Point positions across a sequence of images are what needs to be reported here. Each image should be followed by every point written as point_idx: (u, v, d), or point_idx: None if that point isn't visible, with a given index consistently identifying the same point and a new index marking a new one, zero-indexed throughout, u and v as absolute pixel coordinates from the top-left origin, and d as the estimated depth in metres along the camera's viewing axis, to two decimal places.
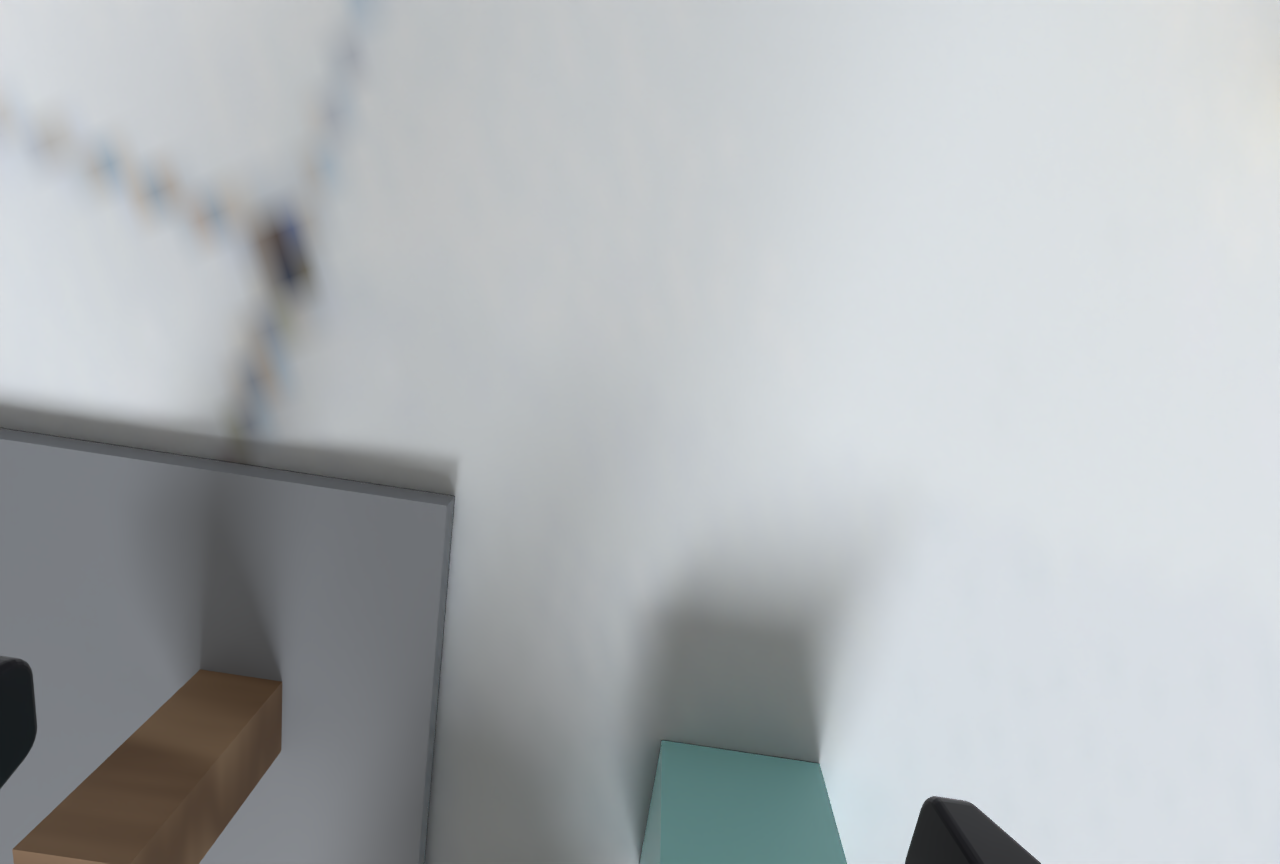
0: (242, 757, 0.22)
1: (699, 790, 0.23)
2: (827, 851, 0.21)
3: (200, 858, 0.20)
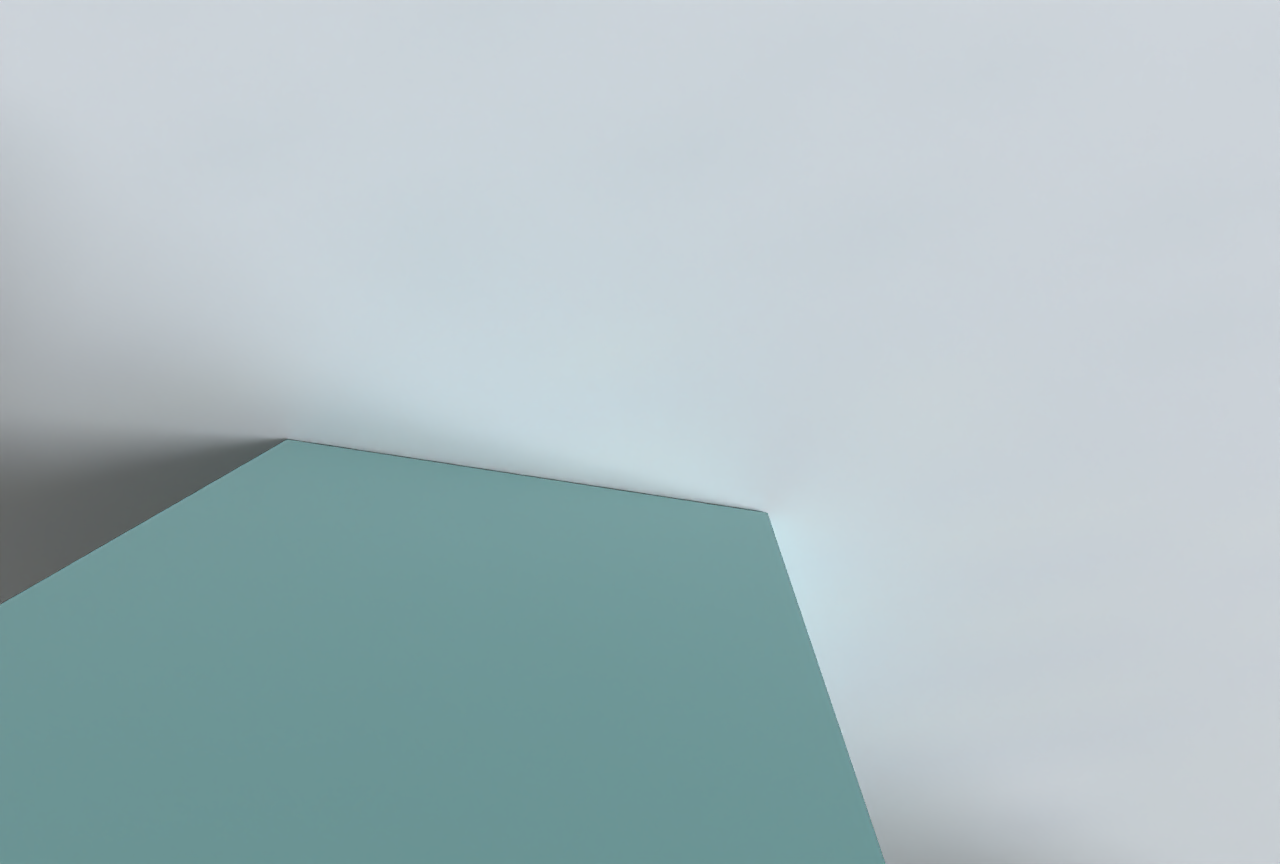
0: None
1: None
2: None
3: None
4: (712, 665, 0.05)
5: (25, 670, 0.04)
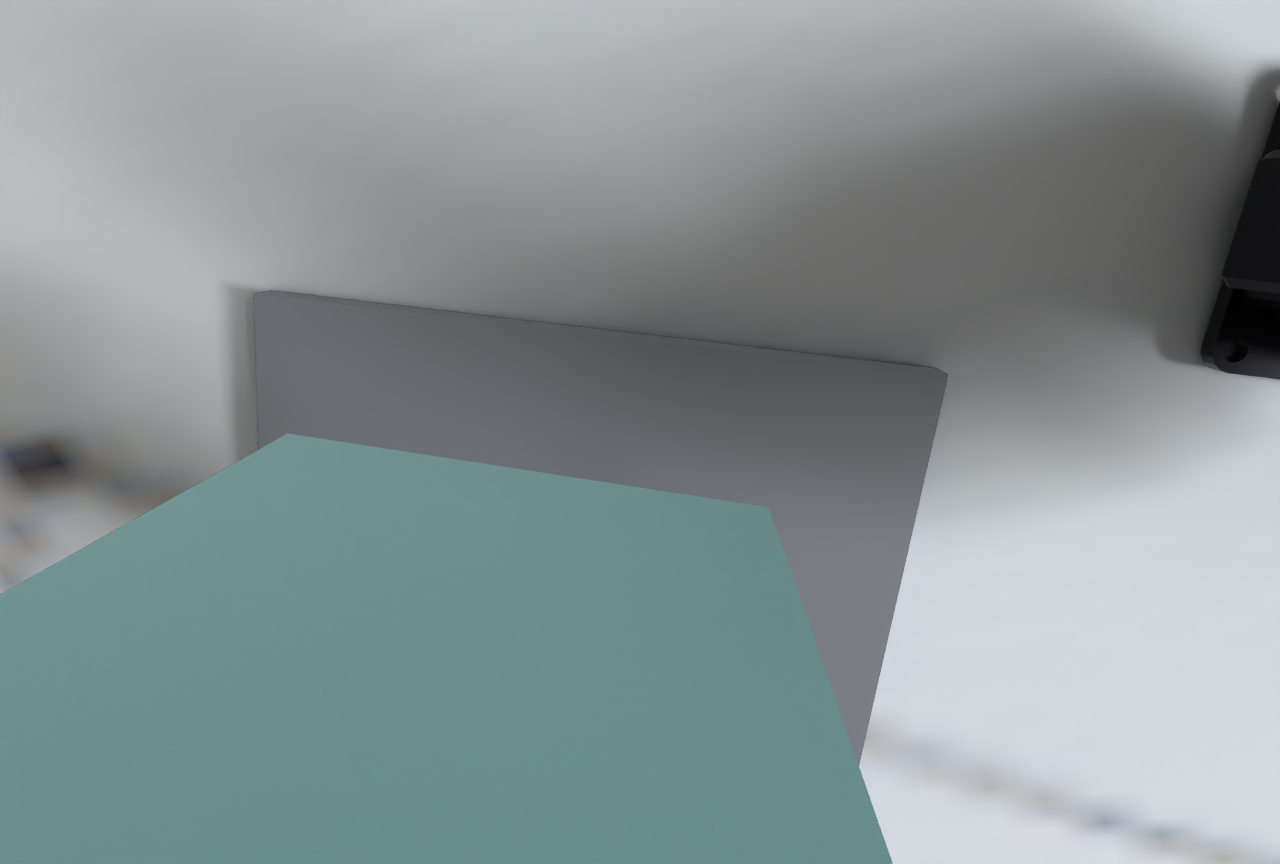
0: None
1: None
2: None
3: None
4: (714, 657, 0.05)
5: (23, 660, 0.04)
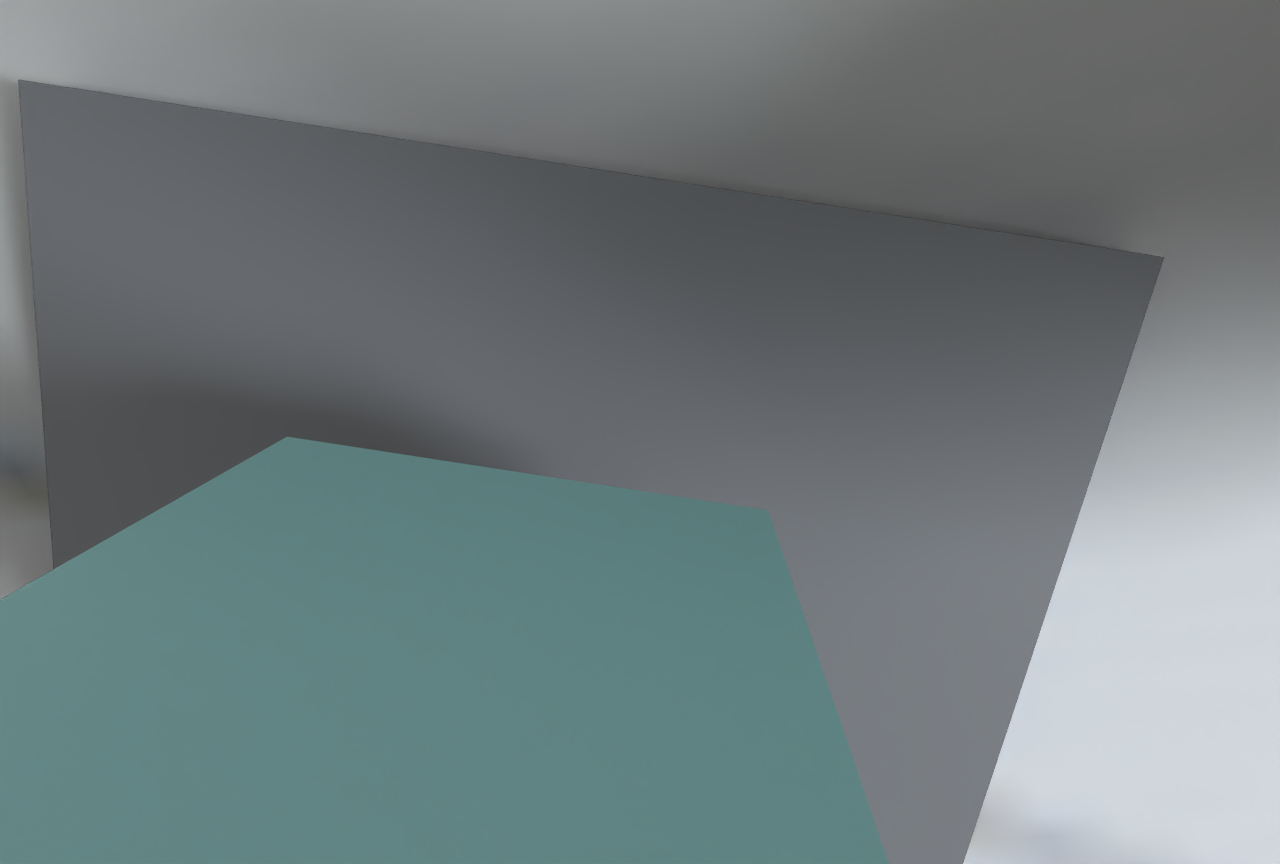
0: None
1: None
2: None
3: None
4: (713, 661, 0.05)
5: (25, 665, 0.04)
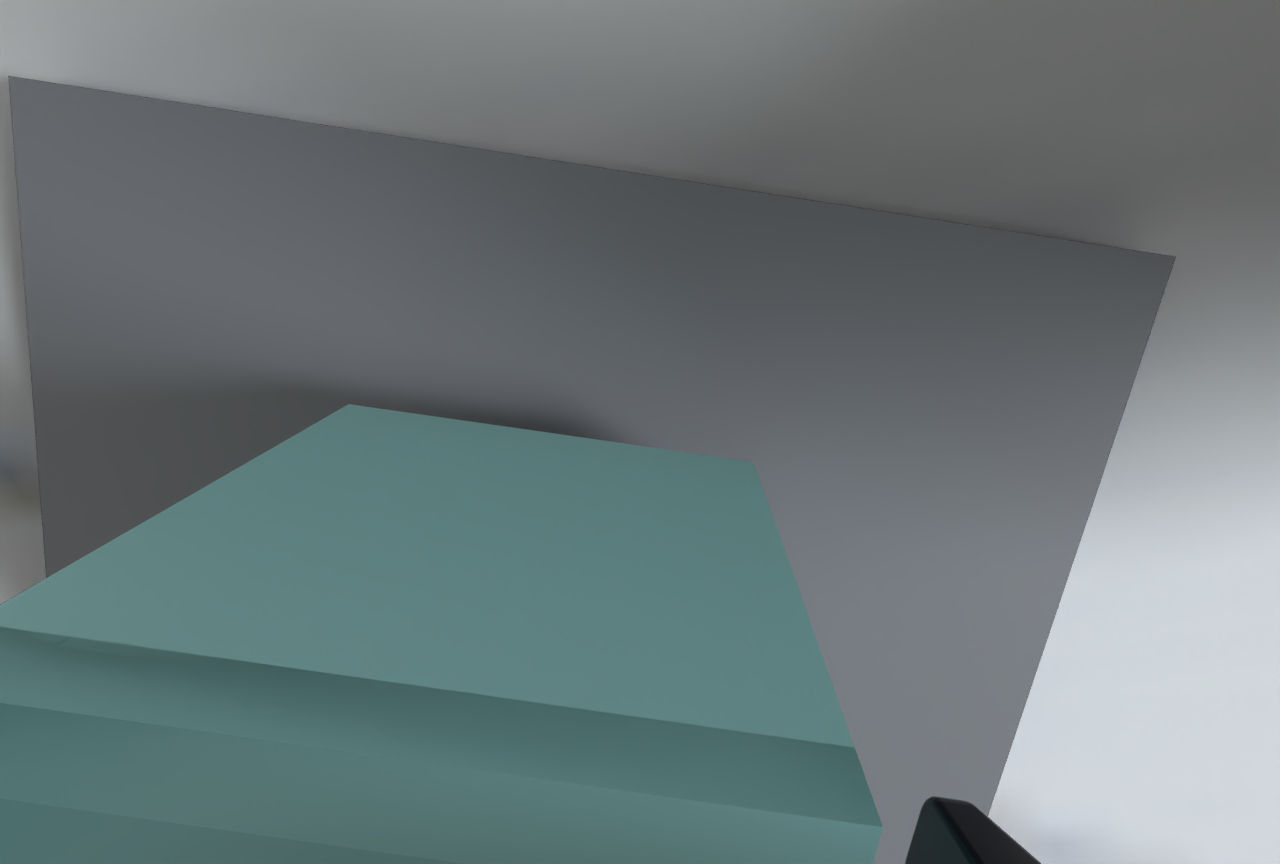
0: None
1: None
2: None
3: None
4: (705, 557, 0.07)
5: (202, 546, 0.06)
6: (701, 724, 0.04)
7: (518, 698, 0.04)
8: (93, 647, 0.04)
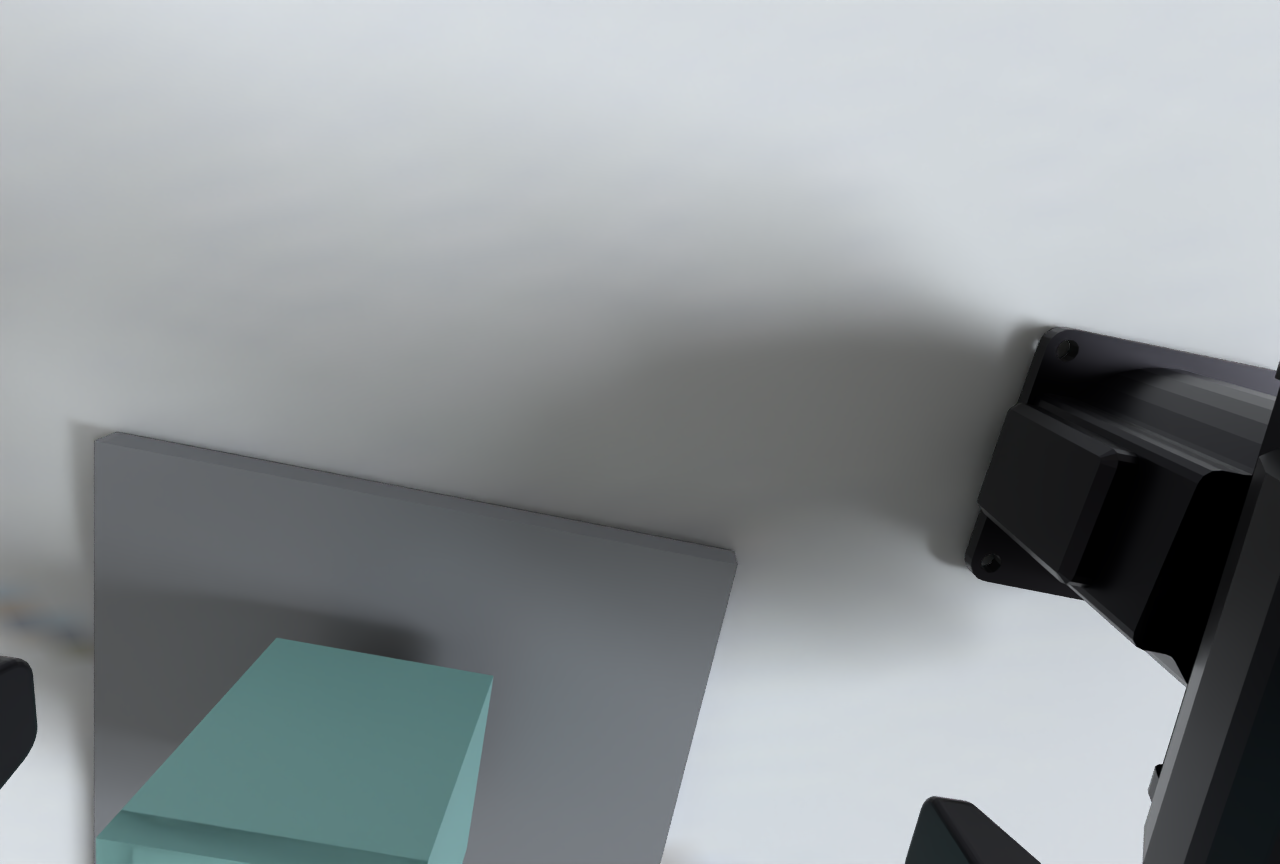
0: None
1: None
2: None
3: None
4: (423, 759, 0.15)
5: (200, 763, 0.14)
6: (375, 851, 0.13)
7: (312, 841, 0.13)
8: (164, 820, 0.13)
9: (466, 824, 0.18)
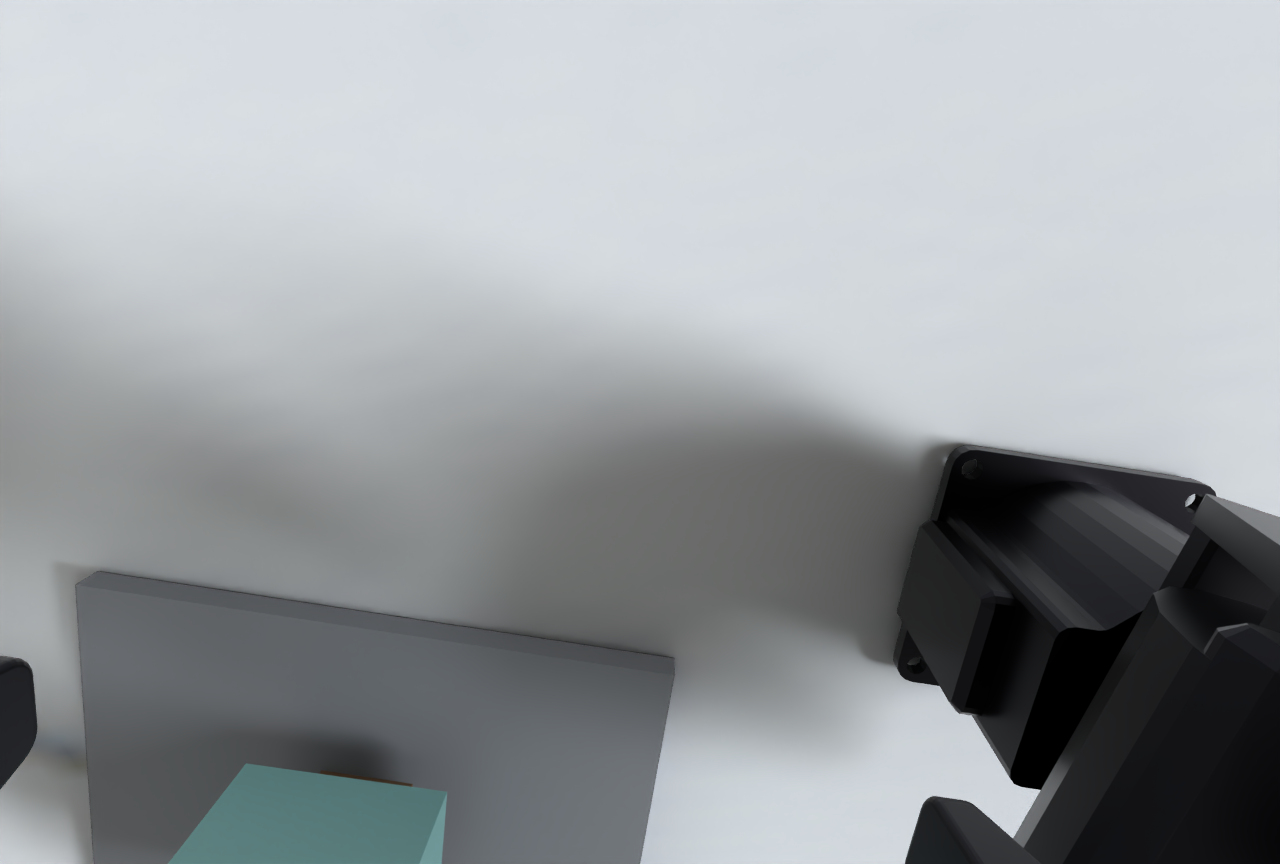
0: None
1: None
2: None
3: None
4: None
5: None
6: None
7: None
8: None
9: None
